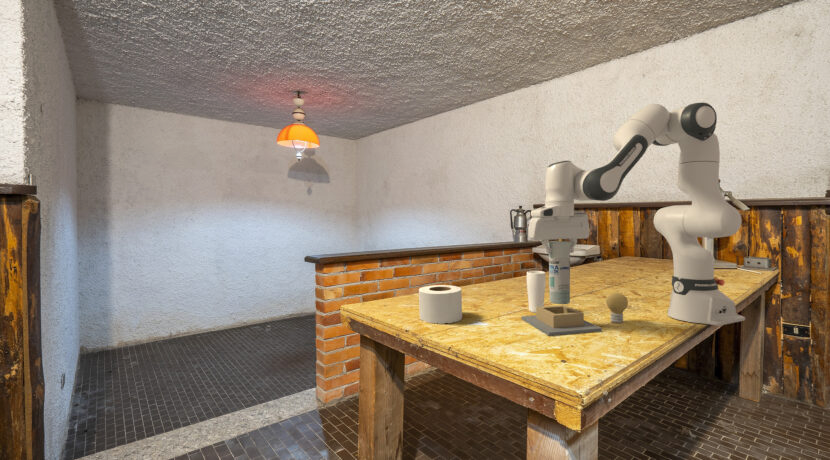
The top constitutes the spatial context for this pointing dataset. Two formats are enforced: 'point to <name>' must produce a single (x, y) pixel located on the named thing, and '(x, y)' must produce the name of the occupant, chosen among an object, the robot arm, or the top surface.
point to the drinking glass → (535, 289)
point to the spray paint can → (559, 272)
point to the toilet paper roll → (440, 304)
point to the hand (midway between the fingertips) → (559, 253)
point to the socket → (560, 321)
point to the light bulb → (616, 306)
